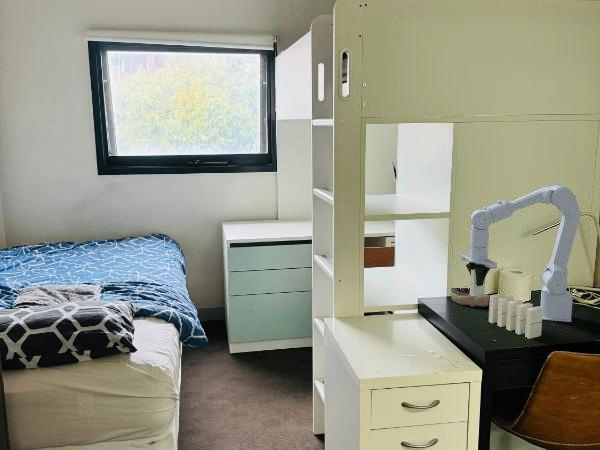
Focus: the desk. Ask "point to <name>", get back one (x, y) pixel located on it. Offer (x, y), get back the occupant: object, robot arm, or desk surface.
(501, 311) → the domino
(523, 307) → the domino
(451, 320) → the desk surface
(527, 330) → the domino
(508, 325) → the domino
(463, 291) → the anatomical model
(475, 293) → the domino
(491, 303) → the domino
